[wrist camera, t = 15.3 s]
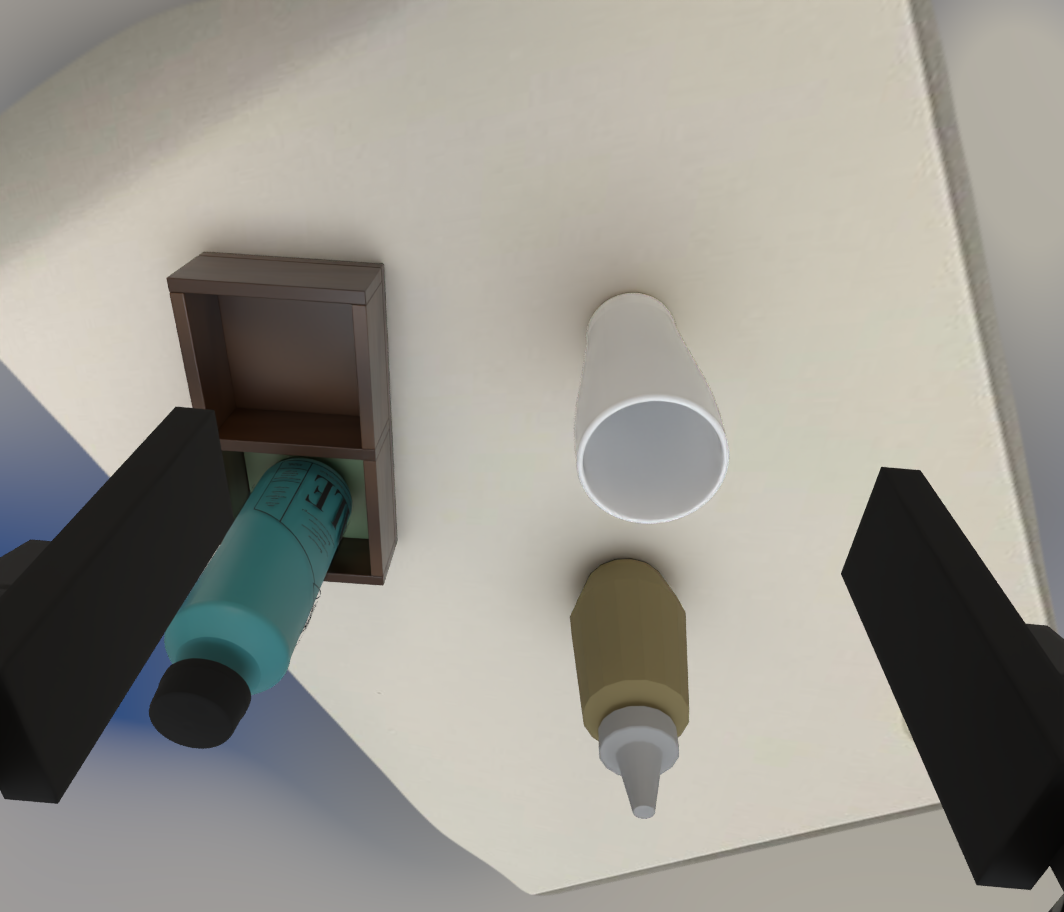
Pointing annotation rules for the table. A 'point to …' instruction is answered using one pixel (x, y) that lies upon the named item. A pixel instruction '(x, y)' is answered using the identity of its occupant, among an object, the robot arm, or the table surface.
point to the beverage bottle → (251, 602)
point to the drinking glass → (645, 416)
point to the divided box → (296, 381)
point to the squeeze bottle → (632, 674)
